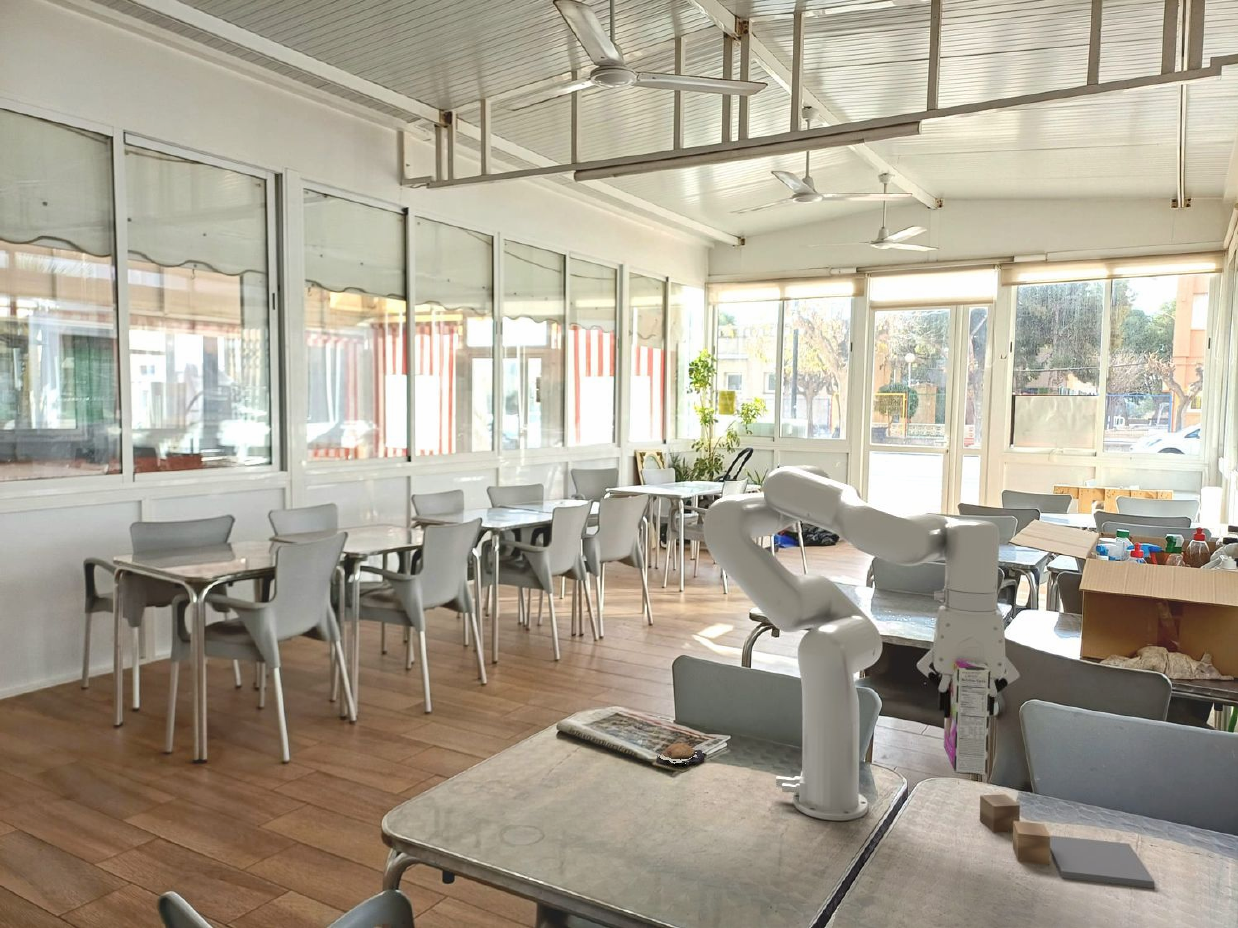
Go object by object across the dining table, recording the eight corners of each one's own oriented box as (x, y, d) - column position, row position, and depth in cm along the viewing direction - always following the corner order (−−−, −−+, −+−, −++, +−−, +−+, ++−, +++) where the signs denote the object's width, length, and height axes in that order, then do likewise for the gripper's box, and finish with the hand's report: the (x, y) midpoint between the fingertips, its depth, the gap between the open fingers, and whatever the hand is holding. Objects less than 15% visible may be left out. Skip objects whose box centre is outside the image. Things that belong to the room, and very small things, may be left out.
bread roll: (685, 776, 169) (685, 757, 169) (648, 766, 174) (648, 748, 174) (713, 759, 177) (713, 741, 177) (677, 750, 182) (677, 732, 182)
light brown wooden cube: (1017, 861, 134) (1018, 833, 134) (1012, 848, 138) (1013, 820, 138) (1049, 865, 133) (1050, 836, 133) (1043, 851, 137) (1044, 823, 137)
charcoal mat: (1061, 877, 129) (1061, 870, 129) (1044, 840, 141) (1044, 834, 141) (1154, 888, 126) (1154, 881, 126) (1128, 849, 138) (1129, 843, 138)
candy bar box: (941, 746, 144) (945, 646, 143) (973, 749, 143) (978, 648, 142) (952, 773, 133) (957, 665, 132) (988, 777, 132) (992, 667, 131)
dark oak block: (993, 833, 144) (993, 806, 144) (979, 821, 148) (980, 795, 148) (1019, 831, 144) (1019, 805, 144) (1005, 820, 148) (1005, 794, 148)
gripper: (913, 601, 135) (908, 719, 136) (1035, 609, 131) (1030, 731, 132) (910, 592, 142) (906, 704, 143) (1025, 599, 138) (1020, 715, 139)
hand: (965, 716), depth 138 cm, fingers closed on candy bar box, 5 cm apart
